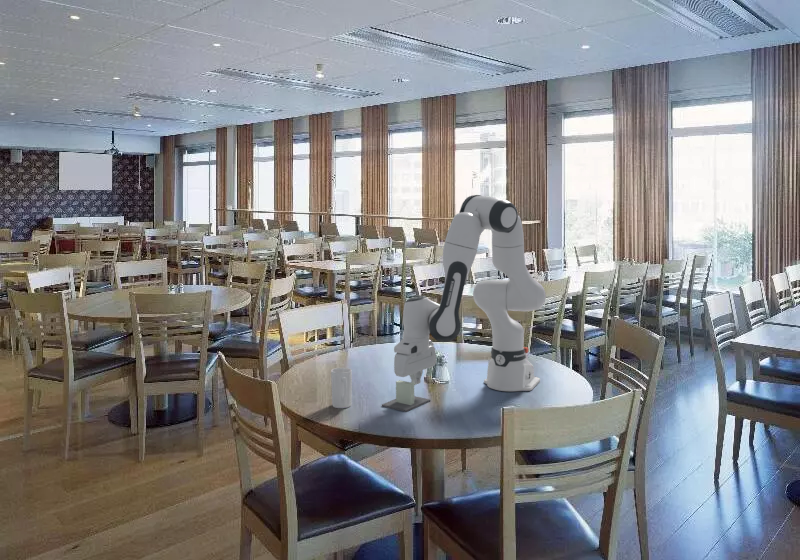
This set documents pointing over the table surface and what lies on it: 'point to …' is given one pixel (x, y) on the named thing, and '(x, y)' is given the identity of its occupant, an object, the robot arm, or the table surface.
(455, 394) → the table surface
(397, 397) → the block
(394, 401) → the mat
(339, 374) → the mug
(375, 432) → the table surface
